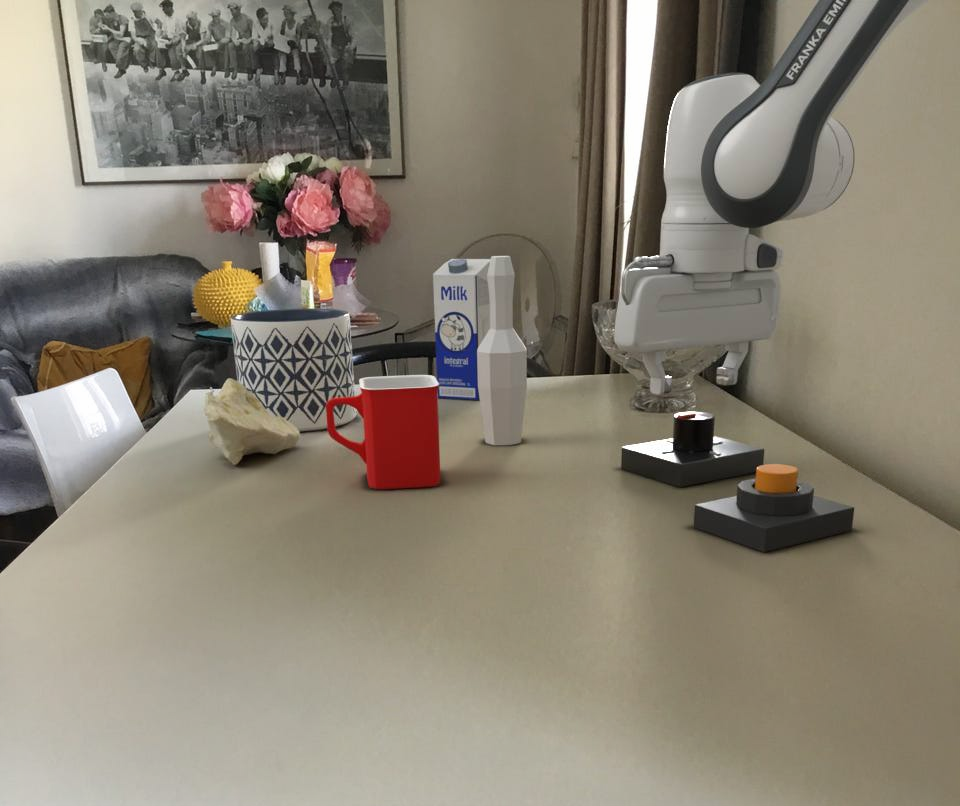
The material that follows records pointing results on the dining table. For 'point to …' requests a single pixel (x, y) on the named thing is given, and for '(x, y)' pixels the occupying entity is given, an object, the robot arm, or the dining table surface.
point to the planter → (296, 363)
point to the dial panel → (691, 461)
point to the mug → (395, 430)
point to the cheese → (245, 424)
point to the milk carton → (460, 324)
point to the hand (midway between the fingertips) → (694, 388)
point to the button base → (773, 517)
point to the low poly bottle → (502, 361)
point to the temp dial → (693, 431)
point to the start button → (776, 478)
